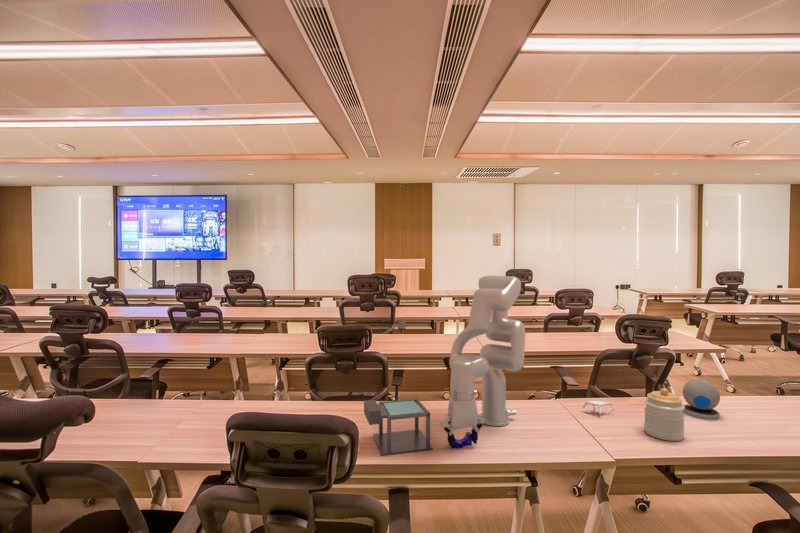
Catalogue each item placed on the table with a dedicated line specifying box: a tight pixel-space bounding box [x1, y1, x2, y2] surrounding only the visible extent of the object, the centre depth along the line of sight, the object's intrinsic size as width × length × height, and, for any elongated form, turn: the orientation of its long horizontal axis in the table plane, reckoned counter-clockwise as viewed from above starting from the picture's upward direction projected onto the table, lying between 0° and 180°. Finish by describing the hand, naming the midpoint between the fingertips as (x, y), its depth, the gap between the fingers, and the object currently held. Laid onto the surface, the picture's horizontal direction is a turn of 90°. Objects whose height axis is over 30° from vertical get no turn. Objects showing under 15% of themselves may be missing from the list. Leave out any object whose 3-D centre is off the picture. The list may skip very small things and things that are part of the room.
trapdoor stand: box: [372, 398, 434, 457], centre depth 148 cm, size 18×16×13 cm
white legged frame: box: [582, 400, 616, 418], centre depth 175 cm, size 12×8×5 cm
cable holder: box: [448, 431, 473, 450], centre depth 146 cm, size 8×4×4 cm, turn 100°
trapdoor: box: [363, 399, 424, 426], centre depth 147 cm, size 19×12×5 cm, turn 105°
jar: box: [643, 387, 685, 442], centre depth 155 cm, size 13×13×18 cm
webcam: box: [682, 378, 721, 421], centre depth 175 cm, size 13×13×15 cm
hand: (462, 443), depth 144 cm, fingers closed on cable holder, 8 cm apart
